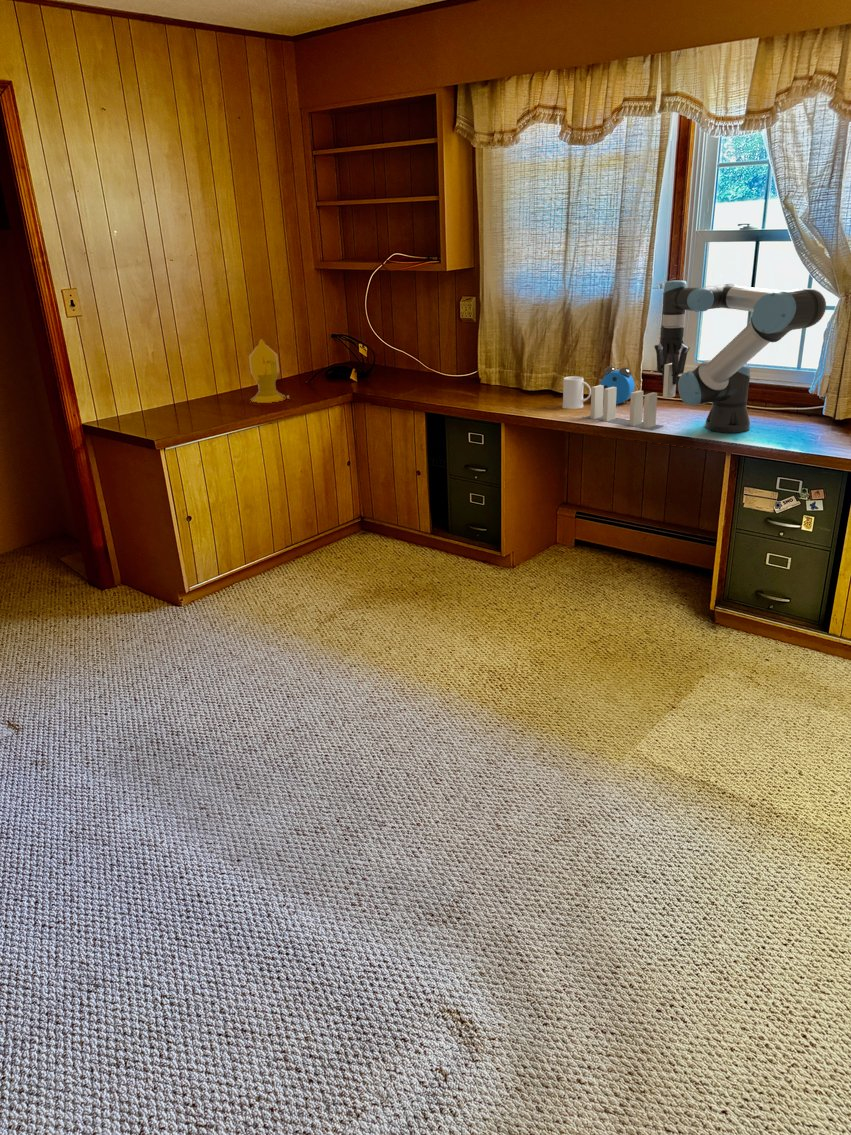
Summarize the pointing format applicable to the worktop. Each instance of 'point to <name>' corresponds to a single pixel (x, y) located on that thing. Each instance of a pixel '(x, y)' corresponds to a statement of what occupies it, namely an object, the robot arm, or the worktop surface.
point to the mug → (574, 392)
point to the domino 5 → (667, 381)
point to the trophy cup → (265, 374)
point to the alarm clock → (619, 382)
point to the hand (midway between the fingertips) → (669, 392)
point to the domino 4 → (650, 410)
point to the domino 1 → (597, 401)
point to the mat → (624, 422)
